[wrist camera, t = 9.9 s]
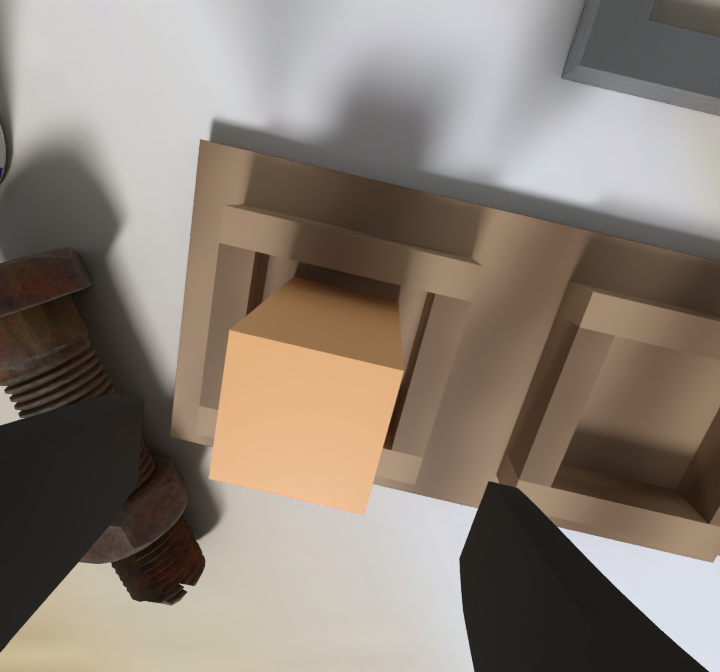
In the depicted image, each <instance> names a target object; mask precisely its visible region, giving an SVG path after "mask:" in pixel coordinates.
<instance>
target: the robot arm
mask: <svg viewBox="0 0 720 672" xmlns="http://www.w3.org/2000/svg"><path fill="white" fill-rule="evenodd" d="M143 411H144V400H143V399H139V398H134V397H130V396H126V395H122V394H117V393H113V394H108V395H104V396H99V397H96V398H92V399H88V400H85V401H81V402H78V403H74V404H71V405H68V406H64V407H61V408H58V409H54V410H51V411H48V412H44V413H41V414H38V415H34V416H31V417H27V418H24V419H21V420H17V421H14V422H11V423H7V424H4V425H1V426H0V652H1V651H2V650H3V649H4V648H5V646H6V645H7V644H8V643H9V641H10V640H11V639H12V638H13V637H14V635H15V634H16V633H17V632H18V631H19V630H20V628H21V627H22V626H23V625H24V624H25V623H26V622H27V620H28V619H29V618H30V617H31V616H32V615H33V614H34V612H35V611H36V610H37V609H38V608H39V607H40V606H41V604H42V603H43V602H44V601H45V600H46V599H47V598H48V596H49V595H50V594H51V593H52V592H53V591H54V590H55V588H56V587H57V586H58V585H59V584H60V583H61V581H62V580H63V579H64V578H65V577H66V576H67V575H68V573H69V572H70V571H71V570H72V569H73V568H74V567H75V565H76V564H77V563H78V562H79V561H80V560H81V559H82V557H83V556H84V555H85V554H86V553H87V552H88V550H89V549H90V548H91V547H92V546H93V545H94V543H95V542H96V541H97V540H98V539H99V538H100V536H101V535H102V534H103V533H104V532H105V530H106V529H107V528H108V527H109V525H110V524H111V522H112V521H113V520H114V518H115V517H116V515H117V514H118V512H119V511H120V509H121V508H122V507H123V505H124V503H125V502H126V500H127V499H128V497H129V496H130V494H131V493H132V491H133V490H134V488H135V487H136V485H137V484H138V473H139V461H140V448H141V436H142V424H143ZM459 561H460V578H461V593H462V604H463V613H464V619H465V624H466V630H467V635H468V640H469V646H470V651H471V656H472V661H473V666H474V671H475V672H709V671H708V670H706V669H705V668H704V667H703V666H702V665H701V664H699V663H698V662H697V661H696V660H695V659H694V658H692V657H691V656H690V655H689V654H688V653H686V652H685V651H684V650H683V649H682V648H681V647H680V646H678V645H677V644H676V643H675V642H674V641H673V640H672V639H671V638H669V637H668V636H667V635H666V634H665V633H664V632H663V631H662V630H661V629H659V628H658V627H657V626H656V625H655V624H654V623H653V622H652V621H651V620H650V619H649V618H648V617H647V616H646V615H645V614H644V613H642V612H641V611H640V610H639V609H638V608H637V607H636V606H635V605H634V604H633V603H632V602H631V601H630V600H629V599H628V598H627V597H626V596H625V595H623V594H622V593H621V592H620V591H619V590H618V589H617V588H616V587H615V586H614V585H613V584H612V583H611V582H610V581H609V580H608V579H607V578H606V577H605V576H604V575H603V574H602V573H601V572H600V571H599V570H598V569H597V568H596V567H595V566H594V565H593V564H592V563H591V562H590V561H589V560H588V559H587V558H586V557H585V555H584V554H583V553H582V552H581V551H580V550H579V549H578V548H577V547H576V546H575V545H574V544H573V543H572V542H571V541H570V540H569V539H568V538H567V537H566V536H565V535H564V534H563V533H562V532H561V531H560V529H559V528H558V527H557V526H556V525H555V524H554V523H553V522H552V521H551V520H550V519H549V518H548V517H547V516H546V515H545V514H544V513H543V512H542V511H541V510H540V509H539V508H538V507H537V506H536V505H535V504H534V503H533V502H532V501H531V500H530V499H529V498H528V497H527V496H526V495H525V494H524V493H523V492H522V491H521V490H520V489H519V488H516V487H512V486H508V485H504V484H499V483H495V482H491V481H488V484H487V486H486V489H485V492H484V494H483V497H482V500H481V502H480V505H479V508H478V510H477V513H476V516H475V518H474V521H473V524H472V526H471V529H470V532H469V534H468V537H467V540H466V542H465V545H464V548H463V550H462V553H461V556H460V558H459Z"/></svg>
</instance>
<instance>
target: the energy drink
mask: <svg viewBox="0 0 720 672" xmlns="http://www.w3.org/2000/svg"><path fill="white" fill-rule="evenodd" d="M5 164H6V144H5V138H4V133H3V130H2V127H1V124H0V181H1V179H2V176H3V173H4V169H5Z"/></svg>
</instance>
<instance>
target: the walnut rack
mask: <svg viewBox="0 0 720 672" xmlns="http://www.w3.org/2000/svg"><path fill="white" fill-rule="evenodd" d="M293 277H298V278H302V279H307V280H311V281H315V282H319V283H324V284H328V285H332V286H336V287H341V288H345V289H349V290H353V291H358V292H362V293H366V294H370V295H375V296H379V297H383V298H387V299H391V300H396V301H398V303H399V316H400V328H401V340H402V352H403V365H404V373H403V376H402V380H401V384H400V387H399V391H398V395H397V398H396V402H395V405H394V409H393V413H392V416H391V420H390V423H389V427H388V431H387V434H386V438H385V442H384V445H383V449H382V452H381V456H380V460H379V463H378V467H377V470H376V474H375V478H374V481H373V484H375V485H380V486H384V487H388V488H393V489H397V490H401V491H405V492H410V493H414V494H418V495H423V496H427V497H431V498H436V499H440V500H444V501H449V502H453V503H457V504H462V505H466V506H470V507H475V508H479V505H480V502H481V500H482V497H483V494H484V492H485V489H486V486H487V484H488V481H491V482H495V483H499V484H504V485H508V486H512V487H516V488H519V489H520V490H521V491H522V492H523V493H524V494H525V495H526V496H527V497H528V498H529V499H530V500H531V501H532V502H533V503H534V504H535V505H536V506H537V507H538V508H539V509H540V510H541V511H542V512H543V513H544V514H545V515H546V516H547V517H548V518H549V519H550V520H551V521H552V522H553V523H554V524H555V525H556V526H557V527H561V528H565V529H569V530H574V531H578V532H582V533H587V534H591V535H595V536H600V537H604V538H608V539H613V540H617V541H621V542H626V543H630V544H634V545H639V546H643V547H647V548H651V549H656V550H660V551H664V552H669V553H673V554H677V555H682V556H686V557H690V558H695V559H699V560H703V561H708V562H712V563H713V562H714V560H715V558H716V557H717V555H720V262H719V261H715V260H710V259H706V258H702V257H698V256H693V255H689V254H685V253H681V252H676V251H672V250H668V249H664V248H659V247H655V246H651V245H647V244H642V243H638V242H634V241H630V240H625V239H621V238H617V237H613V236H608V235H604V234H600V233H596V232H591V231H587V230H583V229H579V228H575V227H570V226H566V225H562V224H558V223H553V222H549V221H545V220H541V219H536V218H532V217H528V216H524V215H519V214H515V213H511V212H507V211H502V210H498V209H494V208H490V207H485V206H481V205H477V204H473V203H468V202H464V201H460V200H456V199H451V198H447V197H443V196H439V195H434V194H430V193H426V192H422V191H417V190H413V189H409V188H405V187H400V186H396V185H392V184H388V183H383V182H379V181H375V180H371V179H367V178H362V177H358V176H354V175H350V174H345V173H341V172H337V171H333V170H328V169H324V168H320V167H316V166H311V165H307V164H303V163H299V162H294V161H290V160H286V159H282V158H277V157H273V156H269V155H265V154H260V153H256V152H252V151H248V150H243V149H239V148H235V147H231V146H226V145H222V144H218V143H214V142H209V141H205V140H201V139H200V146H199V156H198V166H197V175H196V185H195V195H194V205H193V215H192V225H191V234H190V244H189V254H188V264H187V274H186V284H185V293H184V303H183V313H182V323H181V333H180V343H179V352H178V362H177V372H176V382H175V392H174V402H173V411H172V421H171V431H170V437H172V438H177V439H181V440H185V441H190V442H194V443H198V444H203V445H207V446H211V447H213V444H214V437H215V430H216V423H217V415H218V408H219V401H220V394H221V387H222V379H223V372H224V365H225V358H226V351H227V343H228V336H229V330H230V329H231V328H232V327H234V326H235V325H236V324H237V323H239V322H240V321H241V320H242V319H243V318H245V317H246V316H247V315H248V314H249V313H251V312H252V311H253V310H254V309H255V308H257V307H258V306H259V305H260V304H262V303H263V302H264V301H265V300H266V299H268V298H269V297H270V296H271V295H272V294H274V293H275V292H276V291H277V290H278V289H280V288H281V287H282V286H283V285H285V284H286V283H287V282H288V281H289V280H291V279H292V278H293Z"/></svg>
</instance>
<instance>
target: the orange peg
mask: <svg viewBox="0 0 720 672" xmlns="http://www.w3.org/2000/svg"><path fill="white" fill-rule="evenodd" d="M403 373H404V365H403V352H402V340H401V328H400V316H399V303H398V301H396V300H391V299H387V298H383V297H379V296H375V295H370V294H366V293H362V292H358V291H353V290H349V289H345V288H341V287H336V286H332V285H328V284H324V283H319V282H315V281H311V280H307V279H302V278H298V277H293V278H292V279H291V280H289V281H288V282H287V283H286V284H285V285H283V286H282V287H281V288H280V289H278V290H277V291H276V292H275V293H274V294H272V295H271V296H270V297H269V298H268V299H266V300H265V301H264V302H263V303H262V304H260V305H259V306H258V307H257V308H255V309H254V310H253V311H252V312H251V313H249V314H248V315H247V316H246V317H245V318H243V319H242V320H241V321H240V322H239V323H237V324H236V325H235V326H234V327H232V328H231V329H230V330H229V336H228V343H227V351H226V358H225V365H224V372H223V379H222V387H221V394H220V401H219V408H218V415H217V423H216V430H215V437H214V444H213V451H212V459H211V466H210V473H209V479H212V480H216V481H220V482H225V483H229V484H233V485H238V486H242V487H246V488H251V489H255V490H259V491H264V492H268V493H272V494H276V495H281V496H285V497H289V498H294V499H298V500H302V501H307V502H311V503H315V504H319V505H324V506H328V507H332V508H337V509H341V510H345V511H350V512H354V513H358V514H363V515H364V514H365V510H366V507H367V503H368V499H369V496H370V492H371V489H372V485H373V481H374V478H375V474H376V470H377V467H378V463H379V460H380V456H381V452H382V449H383V445H384V442H385V438H386V434H387V431H388V427H389V423H390V420H391V416H392V413H393V409H394V405H395V402H396V398H397V395H398V391H399V387H400V384H401V380H402V376H403Z"/></svg>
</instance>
